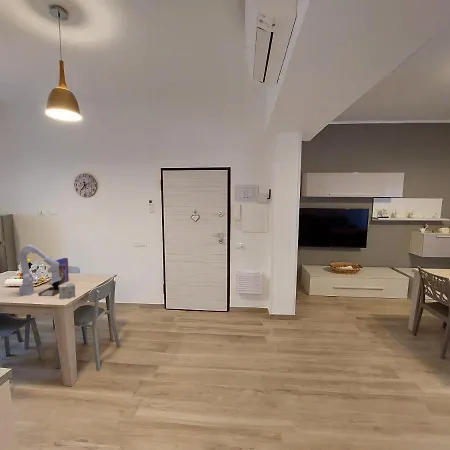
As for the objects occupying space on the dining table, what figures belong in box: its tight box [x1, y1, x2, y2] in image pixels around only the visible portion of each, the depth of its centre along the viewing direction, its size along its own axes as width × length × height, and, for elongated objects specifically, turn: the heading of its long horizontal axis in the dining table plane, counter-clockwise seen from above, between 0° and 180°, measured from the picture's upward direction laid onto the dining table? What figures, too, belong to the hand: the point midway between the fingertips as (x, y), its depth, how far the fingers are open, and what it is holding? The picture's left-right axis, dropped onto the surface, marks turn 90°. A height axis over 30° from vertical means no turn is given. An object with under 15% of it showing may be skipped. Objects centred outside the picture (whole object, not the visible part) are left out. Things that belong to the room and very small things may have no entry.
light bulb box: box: [58, 282, 76, 300], centre depth 224 cm, size 11×7×11 cm, turn 141°
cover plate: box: [41, 290, 58, 297], centre depth 230 cm, size 9×8×2 cm
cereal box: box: [51, 257, 70, 287], centre depth 261 cm, size 17×5×24 cm, turn 178°
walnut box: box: [38, 286, 59, 297], centre depth 233 cm, size 13×17×3 cm
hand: (56, 289), depth 239 cm, fingers closed
